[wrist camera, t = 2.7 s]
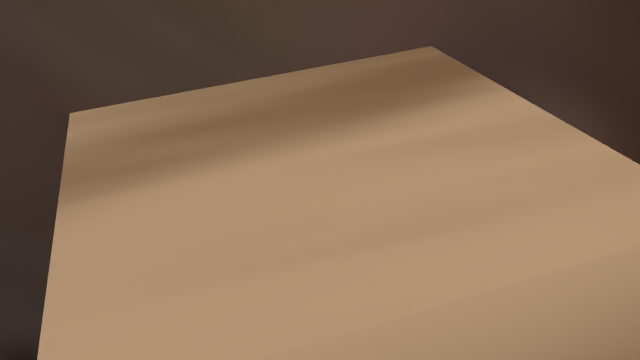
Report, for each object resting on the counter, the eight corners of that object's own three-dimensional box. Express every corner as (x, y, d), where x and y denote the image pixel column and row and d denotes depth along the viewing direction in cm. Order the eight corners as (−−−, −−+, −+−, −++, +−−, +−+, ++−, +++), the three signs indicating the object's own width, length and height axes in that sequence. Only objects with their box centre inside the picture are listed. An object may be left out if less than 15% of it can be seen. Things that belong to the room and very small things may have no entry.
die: (69, 111, 9) (28, 431, 4) (429, 45, 10) (737, 221, 5) (156, 386, 12) (194, 772, 7) (427, 307, 13) (625, 580, 8)
